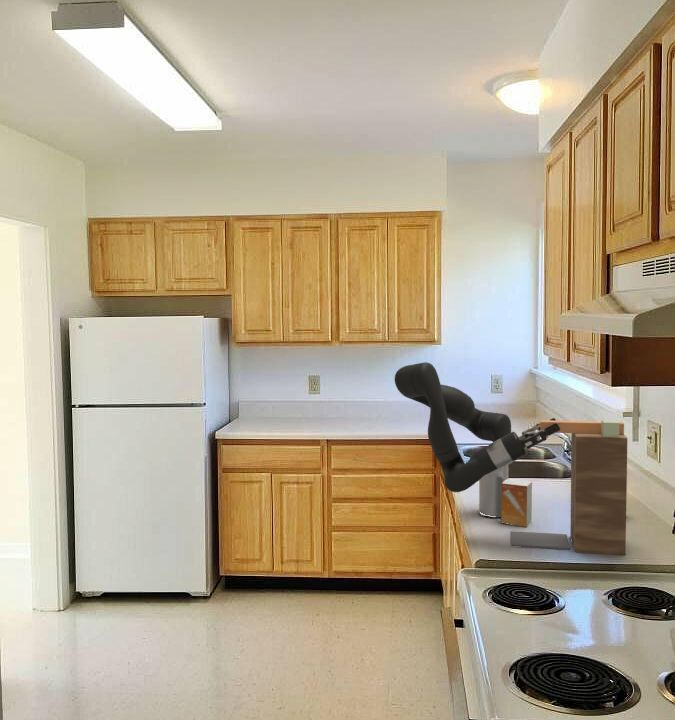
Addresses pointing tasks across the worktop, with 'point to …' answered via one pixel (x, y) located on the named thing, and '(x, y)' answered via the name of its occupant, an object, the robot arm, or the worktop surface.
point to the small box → (516, 502)
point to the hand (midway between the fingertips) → (557, 423)
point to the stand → (598, 493)
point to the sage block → (610, 428)
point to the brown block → (578, 426)
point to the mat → (540, 540)
